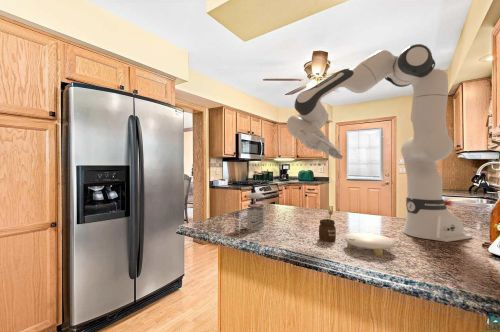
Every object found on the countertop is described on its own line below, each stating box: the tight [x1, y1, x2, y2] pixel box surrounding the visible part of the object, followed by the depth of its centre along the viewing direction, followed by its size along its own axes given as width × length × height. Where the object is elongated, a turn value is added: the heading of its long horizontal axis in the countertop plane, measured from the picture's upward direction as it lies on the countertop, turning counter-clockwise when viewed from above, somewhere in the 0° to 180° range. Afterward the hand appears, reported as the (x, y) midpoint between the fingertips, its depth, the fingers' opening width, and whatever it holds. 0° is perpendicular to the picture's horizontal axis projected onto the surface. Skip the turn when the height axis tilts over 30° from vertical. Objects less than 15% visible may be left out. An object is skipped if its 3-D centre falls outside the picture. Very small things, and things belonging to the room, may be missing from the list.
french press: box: [245, 170, 271, 231], centre depth 107 cm, size 10×12×25 cm
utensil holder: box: [318, 205, 337, 243], centre depth 89 cm, size 6×6×12 cm
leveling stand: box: [344, 232, 394, 258], centre depth 78 cm, size 14×14×4 cm
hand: (335, 154), depth 93 cm, fingers open, 8 cm apart
